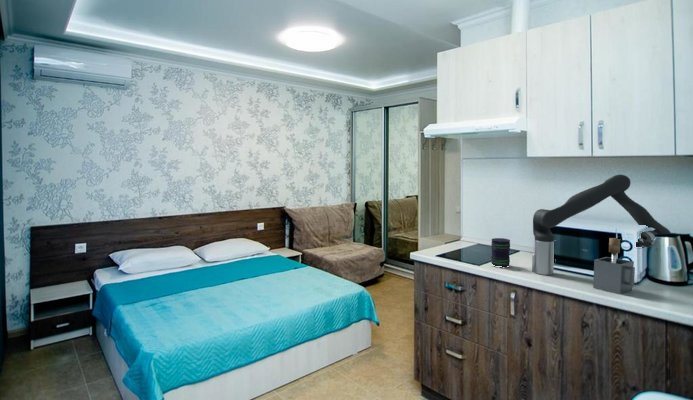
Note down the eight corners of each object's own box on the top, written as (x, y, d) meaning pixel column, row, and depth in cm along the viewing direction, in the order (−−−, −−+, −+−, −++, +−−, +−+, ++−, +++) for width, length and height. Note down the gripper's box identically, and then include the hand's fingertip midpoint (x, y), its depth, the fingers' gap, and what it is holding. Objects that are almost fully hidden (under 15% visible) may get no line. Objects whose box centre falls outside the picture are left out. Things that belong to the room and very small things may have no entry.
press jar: (593, 287, 179) (594, 259, 178) (605, 284, 184) (606, 256, 183) (626, 295, 167) (627, 265, 166) (638, 291, 173) (640, 262, 172)
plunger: (597, 285, 178) (599, 238, 177) (607, 282, 183) (609, 236, 181) (618, 290, 171) (620, 241, 169) (628, 287, 175) (630, 239, 174)
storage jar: (497, 263, 228) (497, 237, 227) (513, 266, 220) (513, 239, 219) (487, 265, 222) (487, 239, 221) (503, 269, 214) (503, 241, 213)
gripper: (626, 230, 195) (609, 233, 186) (660, 233, 183) (644, 237, 174) (625, 244, 195) (608, 248, 187) (659, 249, 183) (643, 253, 175)
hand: (626, 243), depth 181 cm, fingers open, 8 cm apart
